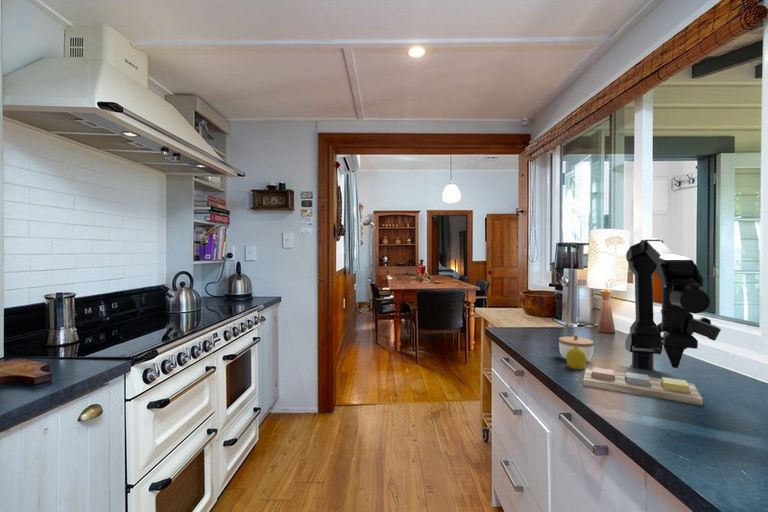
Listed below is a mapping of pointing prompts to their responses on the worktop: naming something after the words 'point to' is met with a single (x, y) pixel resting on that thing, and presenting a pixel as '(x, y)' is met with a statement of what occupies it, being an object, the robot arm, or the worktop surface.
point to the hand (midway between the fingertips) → (675, 367)
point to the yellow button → (675, 384)
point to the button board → (643, 388)
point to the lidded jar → (576, 345)
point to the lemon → (576, 358)
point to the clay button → (603, 373)
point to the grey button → (637, 379)
